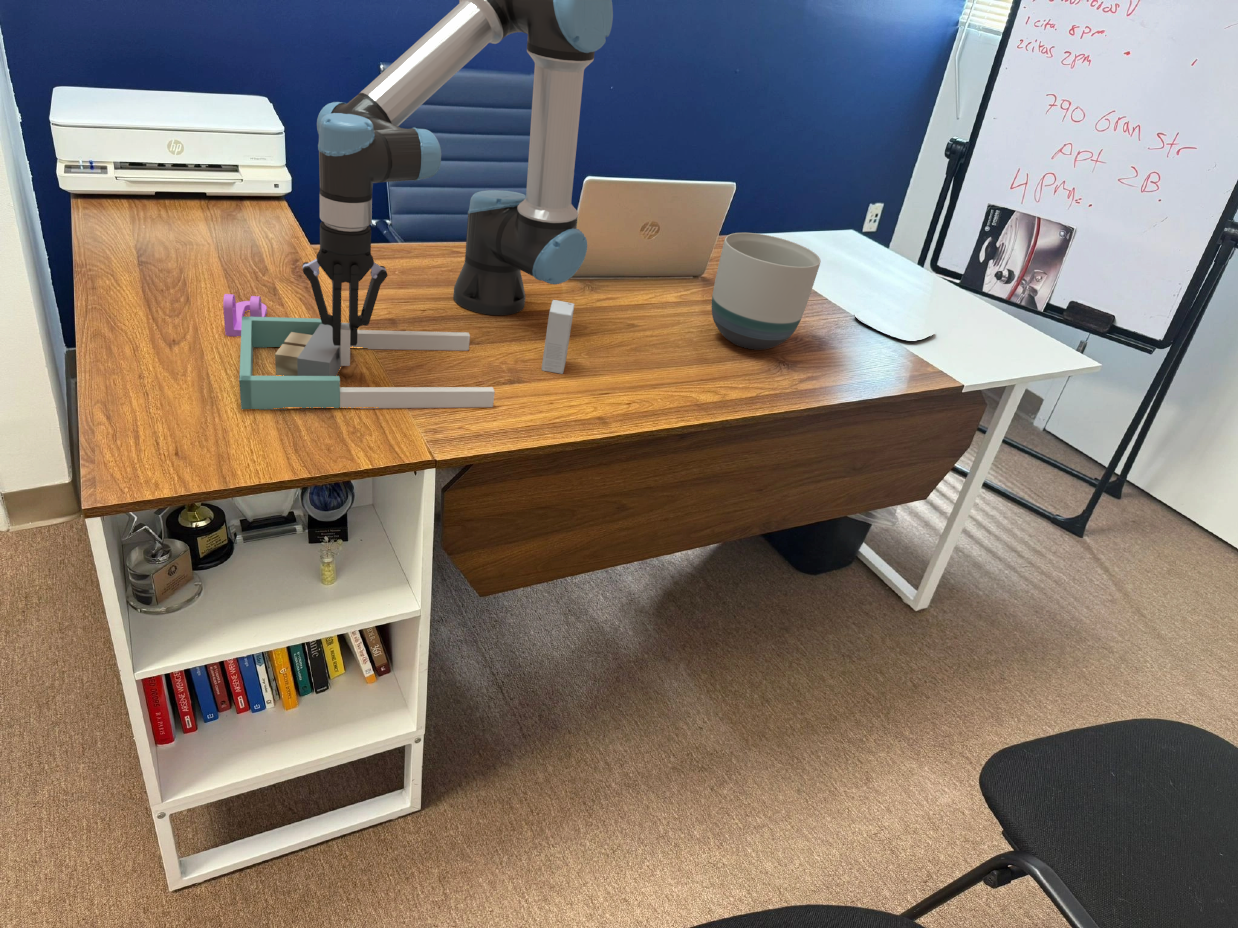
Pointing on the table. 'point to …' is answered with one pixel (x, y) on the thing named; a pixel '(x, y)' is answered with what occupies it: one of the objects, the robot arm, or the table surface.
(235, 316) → the bracket
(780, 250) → the planter
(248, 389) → the bay
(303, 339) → the chip
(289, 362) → the chip
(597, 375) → the table surface
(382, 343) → the channel
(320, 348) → the block
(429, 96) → the robot arm
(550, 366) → the skincare box
